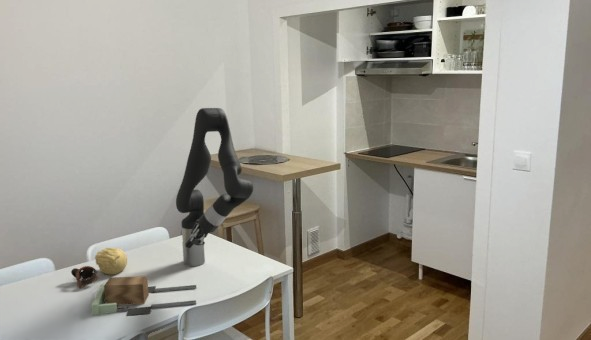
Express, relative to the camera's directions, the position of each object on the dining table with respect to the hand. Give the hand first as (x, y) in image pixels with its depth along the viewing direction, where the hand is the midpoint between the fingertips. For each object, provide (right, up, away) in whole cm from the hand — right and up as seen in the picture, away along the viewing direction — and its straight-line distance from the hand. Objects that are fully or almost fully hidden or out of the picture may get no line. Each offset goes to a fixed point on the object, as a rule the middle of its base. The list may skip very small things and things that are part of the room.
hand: (187, 246), depth 188 cm
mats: (-16, -19, -6) cm, 26 cm away
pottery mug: (-44, -17, +9) cm, 48 cm away
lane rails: (-10, -19, -5) cm, 22 cm away
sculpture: (-36, -14, +20) cm, 44 cm away
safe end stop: (-27, -20, -8) cm, 35 cm away
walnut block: (-21, -20, -6) cm, 29 cm away
